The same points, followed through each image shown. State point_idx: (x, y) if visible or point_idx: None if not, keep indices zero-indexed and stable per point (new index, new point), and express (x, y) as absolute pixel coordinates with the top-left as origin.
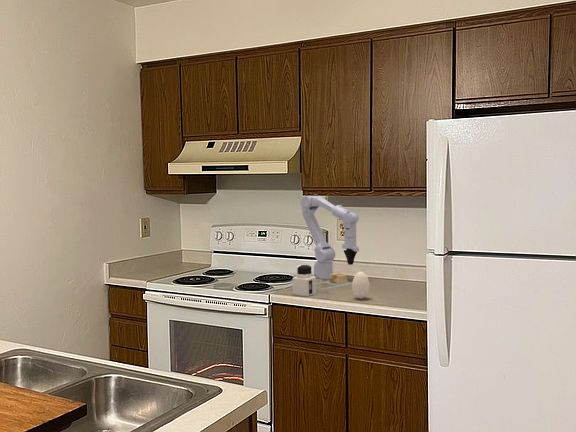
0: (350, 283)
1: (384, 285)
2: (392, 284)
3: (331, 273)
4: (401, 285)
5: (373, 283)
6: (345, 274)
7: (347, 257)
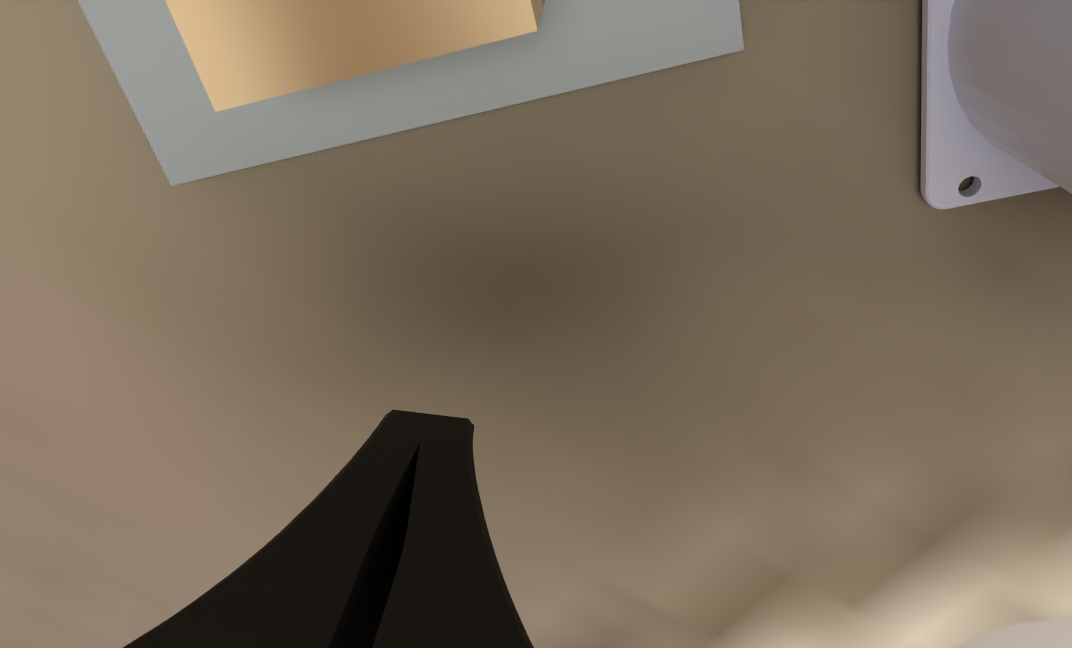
0: (189, 79)
1: (72, 499)
2: (116, 596)
3: (1011, 112)
4: (25, 629)
5: (263, 471)
6: (241, 78)
7: (401, 567)
